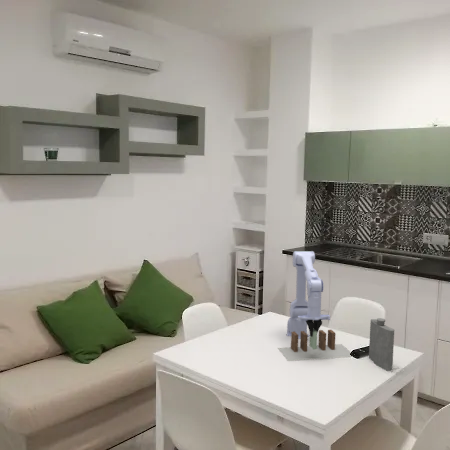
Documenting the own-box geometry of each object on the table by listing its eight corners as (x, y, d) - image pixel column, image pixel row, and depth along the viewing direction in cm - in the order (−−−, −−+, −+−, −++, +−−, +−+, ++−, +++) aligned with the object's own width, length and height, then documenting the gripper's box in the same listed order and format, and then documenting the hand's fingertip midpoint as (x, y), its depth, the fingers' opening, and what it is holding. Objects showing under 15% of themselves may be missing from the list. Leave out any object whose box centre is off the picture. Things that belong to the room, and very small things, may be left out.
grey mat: (288, 361, 222) (288, 361, 222) (277, 348, 238) (277, 348, 238) (356, 357, 228) (356, 356, 228) (341, 344, 244) (341, 344, 244)
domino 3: (322, 350, 235) (323, 333, 234) (318, 346, 240) (318, 330, 239) (325, 350, 235) (326, 333, 234) (321, 346, 240) (322, 330, 239)
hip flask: (393, 370, 214) (396, 324, 211) (385, 371, 213) (387, 325, 210) (373, 356, 229) (375, 313, 227) (365, 357, 228) (367, 314, 226)
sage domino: (313, 349, 224) (313, 331, 223) (309, 345, 229) (309, 328, 228) (316, 349, 225) (317, 331, 224) (312, 345, 229) (313, 328, 228)
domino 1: (294, 352, 232) (294, 335, 231) (290, 348, 237) (291, 331, 236) (297, 352, 233) (298, 335, 232) (294, 348, 238) (294, 331, 237)
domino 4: (331, 349, 236) (332, 333, 235) (327, 346, 241) (327, 329, 240) (334, 349, 236) (335, 333, 235) (330, 345, 241) (331, 329, 240)
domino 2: (303, 351, 233) (304, 334, 232) (300, 347, 238) (300, 331, 237) (307, 351, 234) (307, 334, 233) (303, 347, 238) (303, 331, 237)
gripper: (301, 309, 219) (300, 340, 221) (333, 308, 222) (332, 338, 224) (296, 305, 226) (295, 334, 228) (327, 303, 229) (326, 332, 231)
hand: (313, 336), depth 226 cm, fingers closed on sage domino, 1 cm apart
